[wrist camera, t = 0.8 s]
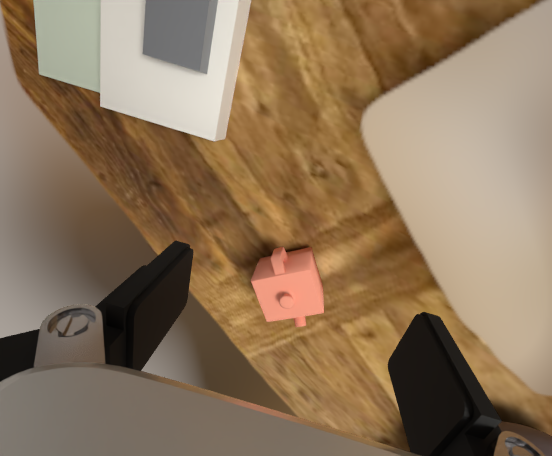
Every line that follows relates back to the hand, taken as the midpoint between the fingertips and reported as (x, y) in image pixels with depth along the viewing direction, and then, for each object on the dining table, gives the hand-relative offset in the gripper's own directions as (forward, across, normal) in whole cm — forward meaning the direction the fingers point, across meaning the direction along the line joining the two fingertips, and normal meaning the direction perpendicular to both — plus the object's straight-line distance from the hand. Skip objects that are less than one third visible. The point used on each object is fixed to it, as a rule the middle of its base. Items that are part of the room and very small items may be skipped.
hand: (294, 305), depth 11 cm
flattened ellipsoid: (+26, -43, +38) cm, 63 cm away
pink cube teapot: (+26, -2, +15) cm, 30 cm away
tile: (+22, +16, -13) cm, 31 cm away
